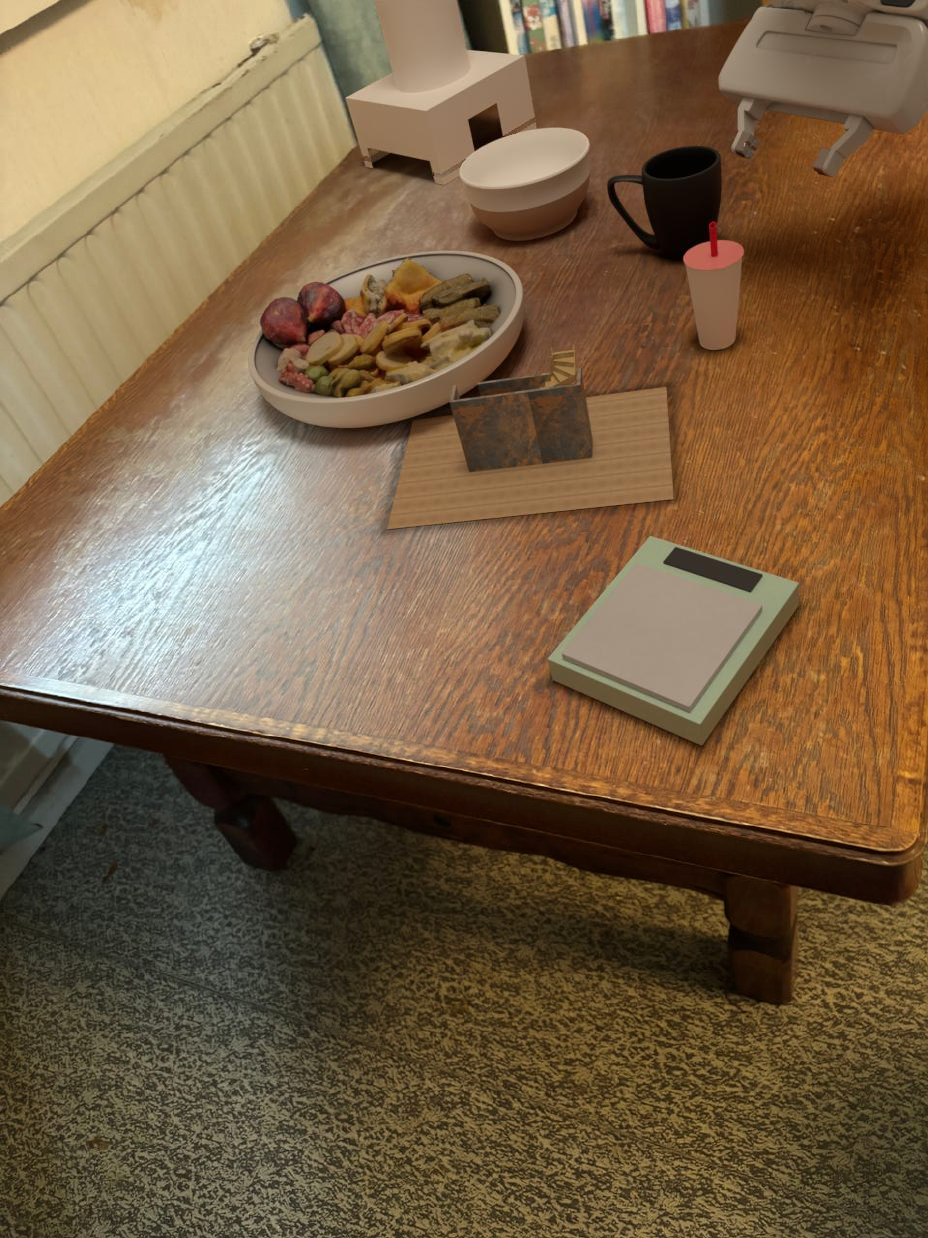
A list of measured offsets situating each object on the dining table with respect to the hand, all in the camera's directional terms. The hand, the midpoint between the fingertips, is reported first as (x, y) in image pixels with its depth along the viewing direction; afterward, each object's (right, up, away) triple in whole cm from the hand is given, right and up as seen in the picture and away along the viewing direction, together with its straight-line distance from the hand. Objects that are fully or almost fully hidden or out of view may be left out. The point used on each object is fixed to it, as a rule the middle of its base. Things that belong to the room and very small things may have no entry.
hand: (780, 164), depth 87 cm
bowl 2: (-20, +9, +35) cm, 41 cm away
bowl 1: (-36, -13, +18) cm, 42 cm away
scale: (-13, -43, -18) cm, 48 cm away
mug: (-5, 0, +22) cm, 22 cm away
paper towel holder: (-31, +29, +58) cm, 72 cm away
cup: (-4, -14, +7) cm, 16 cm away
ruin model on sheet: (-22, -26, +1) cm, 35 cm away
